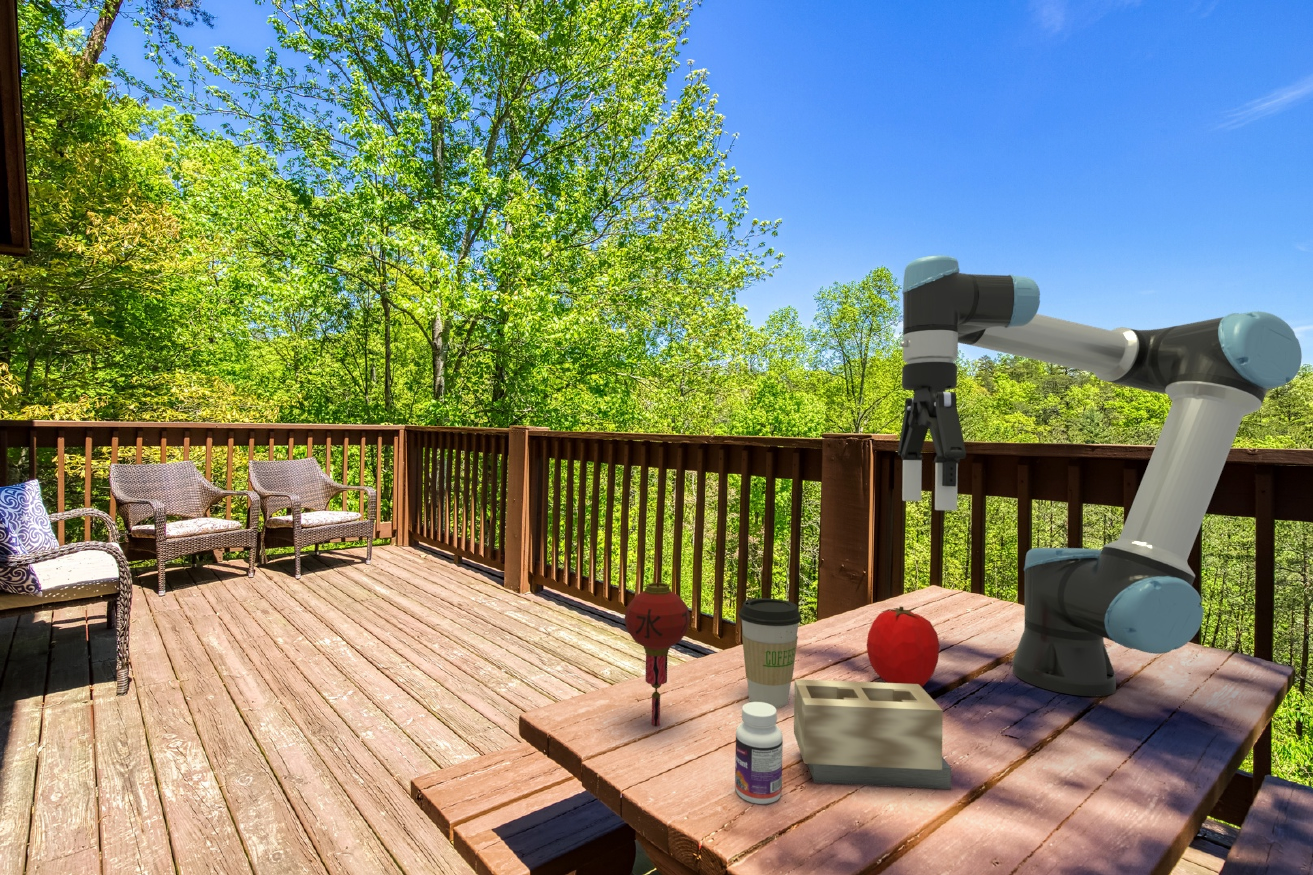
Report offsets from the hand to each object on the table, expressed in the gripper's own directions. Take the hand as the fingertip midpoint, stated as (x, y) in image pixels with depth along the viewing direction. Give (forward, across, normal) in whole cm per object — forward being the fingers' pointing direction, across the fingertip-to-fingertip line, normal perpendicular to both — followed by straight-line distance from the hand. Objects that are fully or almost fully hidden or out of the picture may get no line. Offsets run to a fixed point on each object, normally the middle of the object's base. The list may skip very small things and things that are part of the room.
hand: (927, 505), depth 94 cm
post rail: (+32, +16, -12) cm, 37 cm away
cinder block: (+29, +16, -13) cm, 36 cm away
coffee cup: (+32, -5, -23) cm, 39 cm away
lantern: (+32, +6, -40) cm, 51 cm away
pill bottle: (+32, +22, -27) cm, 47 cm away
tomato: (+32, -13, +1) cm, 34 cm away
